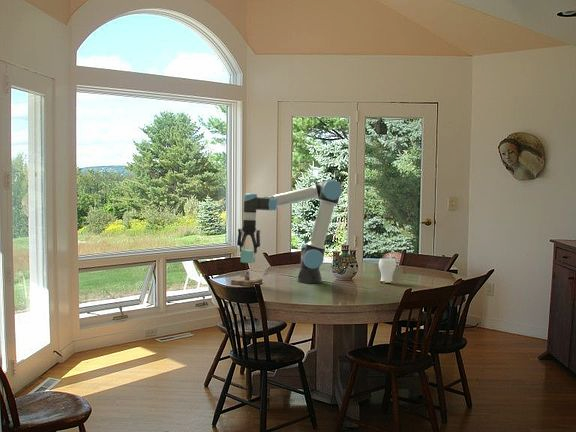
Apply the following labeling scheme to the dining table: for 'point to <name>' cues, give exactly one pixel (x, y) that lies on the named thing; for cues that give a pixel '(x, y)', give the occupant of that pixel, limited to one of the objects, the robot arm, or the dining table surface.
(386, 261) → the cup
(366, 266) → the dining table surface
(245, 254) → the mint green cube
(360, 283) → the dining table surface
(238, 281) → the stand
